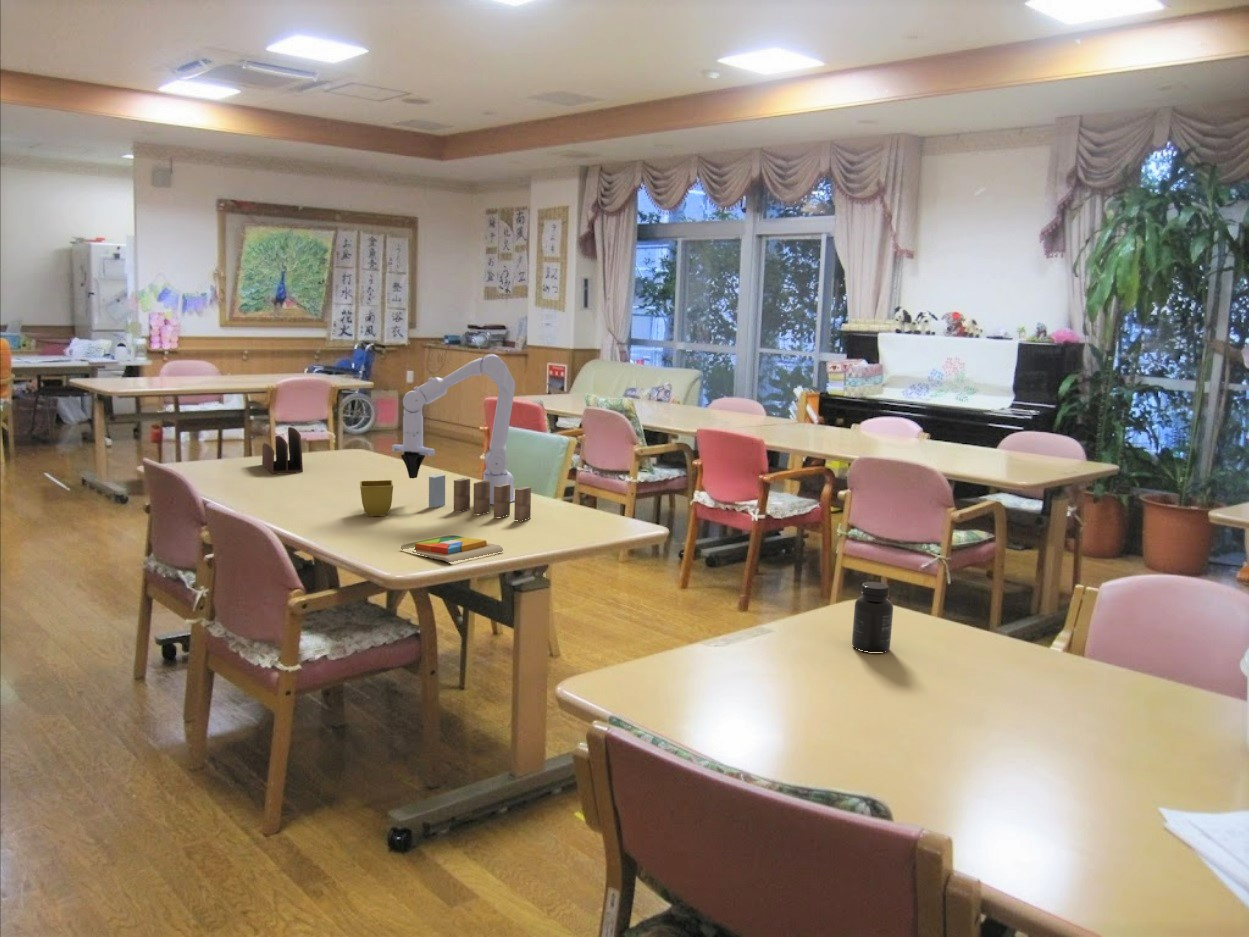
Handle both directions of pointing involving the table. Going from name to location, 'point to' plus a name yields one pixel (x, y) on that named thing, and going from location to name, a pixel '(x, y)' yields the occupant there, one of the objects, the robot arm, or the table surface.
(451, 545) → the wooden puzzle
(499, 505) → the domino
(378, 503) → the flower pot
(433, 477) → the blue domino
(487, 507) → the domino
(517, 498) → the domino
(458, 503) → the domino
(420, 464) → the robot arm
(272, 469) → the letter holder
